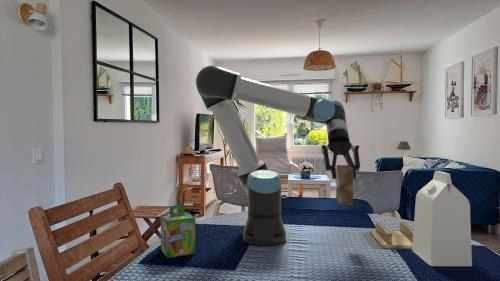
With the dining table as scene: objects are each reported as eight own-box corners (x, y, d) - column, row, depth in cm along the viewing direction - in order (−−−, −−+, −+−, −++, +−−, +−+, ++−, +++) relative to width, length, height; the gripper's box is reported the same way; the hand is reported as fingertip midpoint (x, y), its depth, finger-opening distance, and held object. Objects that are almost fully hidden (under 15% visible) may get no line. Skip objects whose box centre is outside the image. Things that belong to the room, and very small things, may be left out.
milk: (472, 267, 100) (474, 175, 99) (430, 267, 100) (432, 175, 99) (449, 251, 112) (450, 169, 111) (412, 251, 112) (413, 169, 111)
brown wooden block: (340, 204, 116) (340, 168, 115) (336, 199, 124) (336, 165, 123) (352, 205, 115) (353, 168, 115) (347, 199, 123) (348, 165, 123)
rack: (381, 247, 115) (381, 234, 114) (369, 233, 130) (369, 221, 129) (426, 248, 114) (426, 234, 113) (409, 234, 129) (409, 221, 128)
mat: (372, 249, 114) (372, 248, 114) (360, 233, 130) (360, 232, 130) (436, 250, 113) (436, 249, 113) (417, 234, 129) (417, 233, 129)
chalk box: (167, 259, 107) (166, 210, 106) (160, 249, 115) (159, 204, 114) (196, 254, 111) (196, 207, 111) (187, 245, 119) (187, 201, 119)
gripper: (359, 141, 135) (369, 193, 119) (314, 140, 136) (318, 192, 121) (363, 127, 129) (374, 180, 114) (315, 127, 131) (320, 179, 115)
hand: (345, 186), depth 117 cm, fingers closed on brown wooden block, 4 cm apart
